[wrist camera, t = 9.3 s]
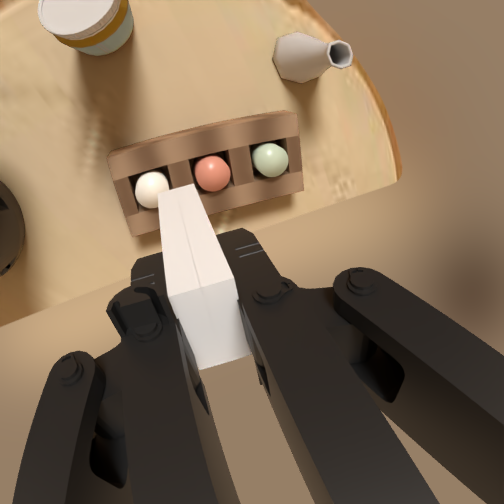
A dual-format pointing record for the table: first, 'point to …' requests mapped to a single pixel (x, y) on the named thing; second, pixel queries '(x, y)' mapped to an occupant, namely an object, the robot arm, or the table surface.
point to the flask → (308, 56)
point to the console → (202, 143)
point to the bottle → (88, 23)
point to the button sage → (269, 158)
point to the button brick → (211, 172)
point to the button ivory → (150, 187)
